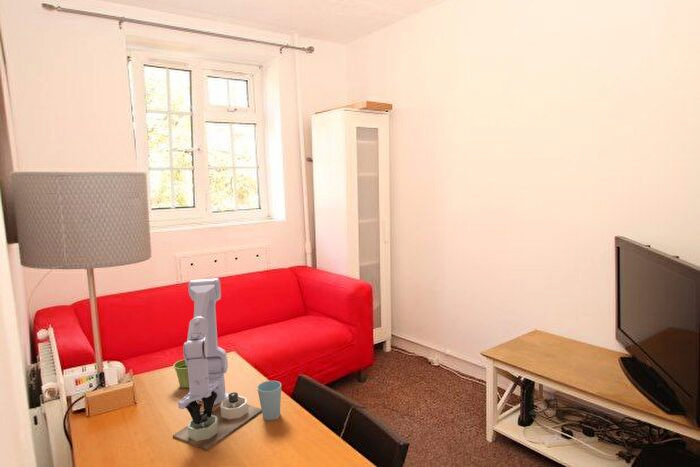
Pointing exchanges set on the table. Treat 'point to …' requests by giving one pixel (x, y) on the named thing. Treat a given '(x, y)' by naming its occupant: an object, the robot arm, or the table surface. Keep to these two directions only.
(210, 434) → the housing
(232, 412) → the housing
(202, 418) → the plunger
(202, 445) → the board
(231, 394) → the plunger
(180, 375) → the plant pot
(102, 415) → the table surface
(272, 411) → the cup
